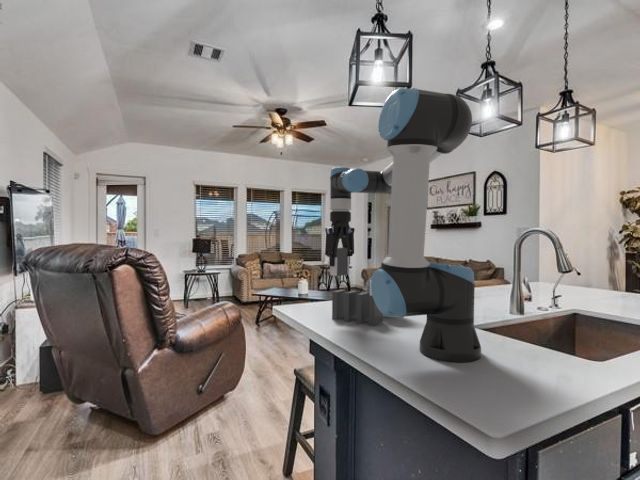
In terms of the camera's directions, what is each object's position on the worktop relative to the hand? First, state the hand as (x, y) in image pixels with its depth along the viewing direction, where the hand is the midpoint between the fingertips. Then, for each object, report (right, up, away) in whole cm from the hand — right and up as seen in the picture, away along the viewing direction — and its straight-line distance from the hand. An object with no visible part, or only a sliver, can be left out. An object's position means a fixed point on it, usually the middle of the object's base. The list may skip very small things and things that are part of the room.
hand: (339, 274), depth 133 cm
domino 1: (0, 0, 0) cm, 0 cm away
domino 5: (+12, -16, -8) cm, 22 cm away
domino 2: (0, -16, +1) cm, 16 cm away
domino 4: (+8, -16, -5) cm, 19 cm away
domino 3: (+4, -16, -2) cm, 17 cm away
